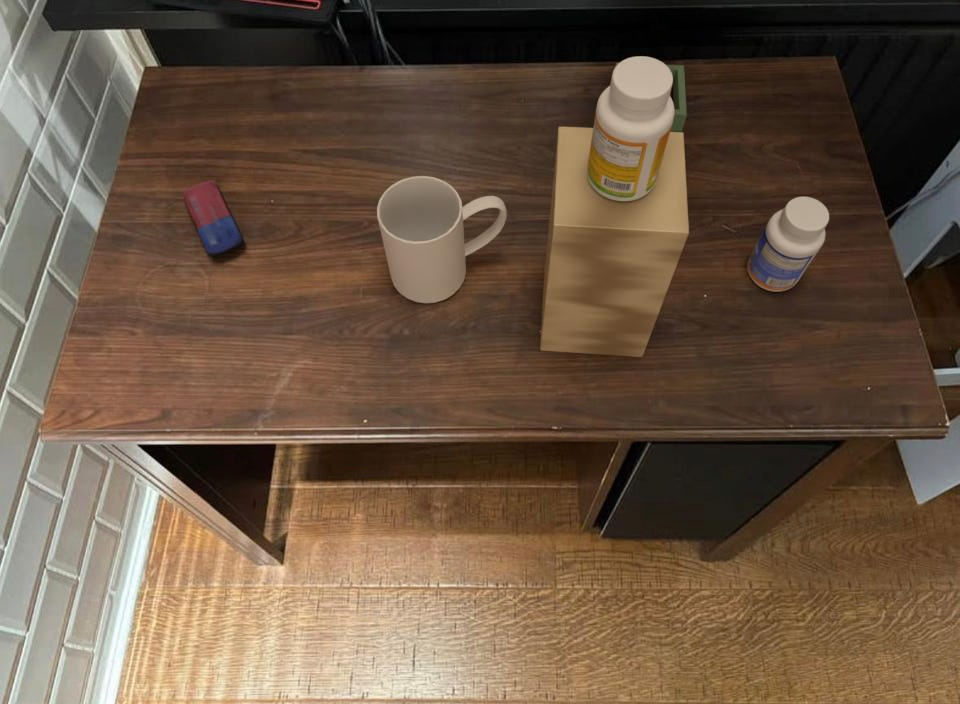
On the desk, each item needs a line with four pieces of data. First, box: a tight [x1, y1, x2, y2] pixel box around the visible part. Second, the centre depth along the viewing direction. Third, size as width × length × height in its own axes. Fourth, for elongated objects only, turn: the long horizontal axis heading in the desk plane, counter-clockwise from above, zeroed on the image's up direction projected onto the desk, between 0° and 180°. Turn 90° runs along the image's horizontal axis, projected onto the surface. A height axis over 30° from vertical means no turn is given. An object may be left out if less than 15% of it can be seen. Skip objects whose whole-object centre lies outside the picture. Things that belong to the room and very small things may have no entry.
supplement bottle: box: [587, 55, 675, 201], centre depth 53 cm, size 5×5×10 cm
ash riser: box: [539, 126, 690, 358], centre depth 66 cm, size 10×10×20 cm
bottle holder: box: [614, 62, 688, 132], centre depth 87 cm, size 8×8×3 cm
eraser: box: [182, 180, 246, 260], centre depth 80 cm, size 11×4×2 cm, turn 28°
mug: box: [376, 175, 508, 304], centre depth 73 cm, size 12×8×10 cm, turn 102°
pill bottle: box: [746, 196, 830, 293], centre depth 72 cm, size 5×5×10 cm
